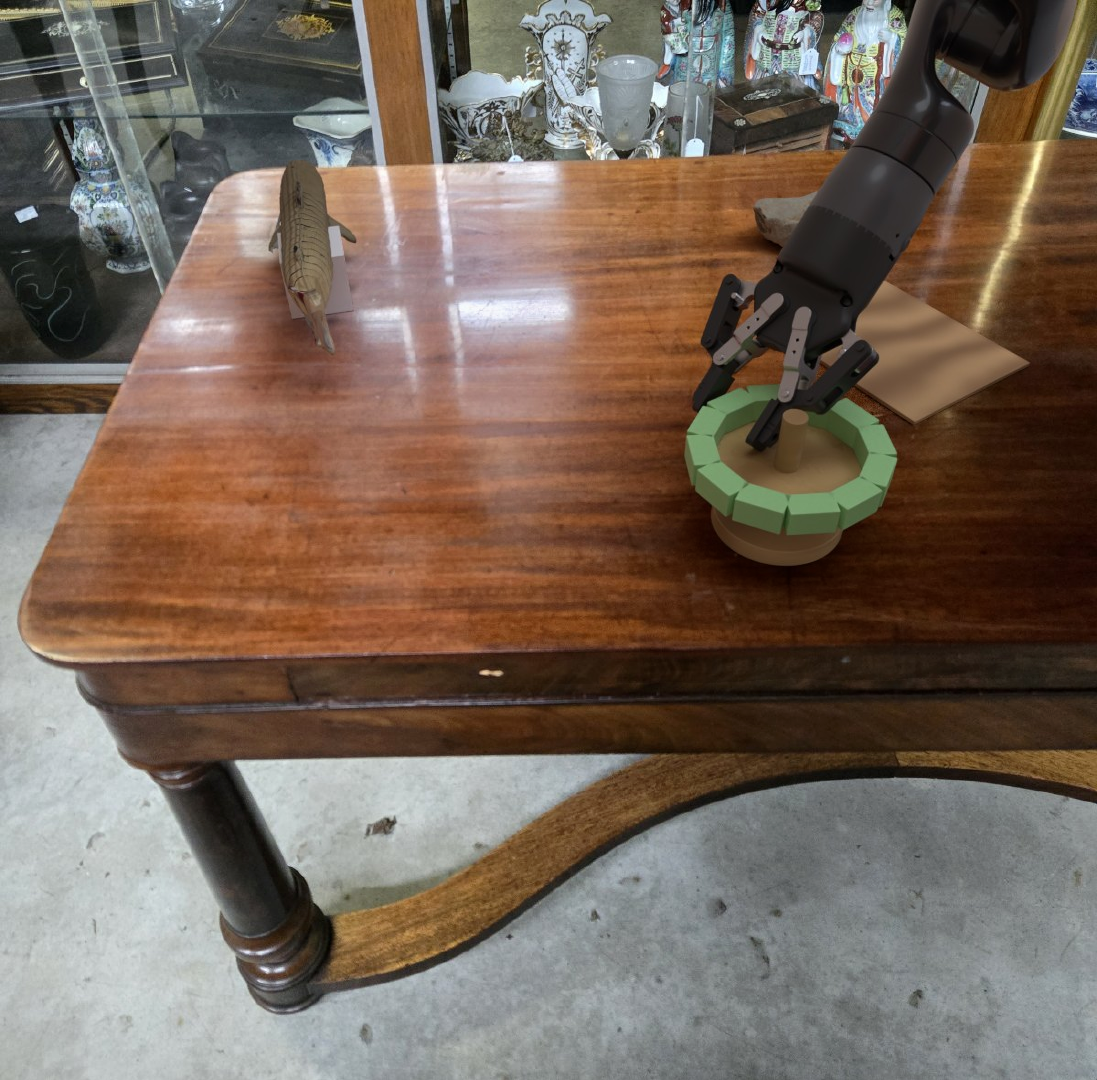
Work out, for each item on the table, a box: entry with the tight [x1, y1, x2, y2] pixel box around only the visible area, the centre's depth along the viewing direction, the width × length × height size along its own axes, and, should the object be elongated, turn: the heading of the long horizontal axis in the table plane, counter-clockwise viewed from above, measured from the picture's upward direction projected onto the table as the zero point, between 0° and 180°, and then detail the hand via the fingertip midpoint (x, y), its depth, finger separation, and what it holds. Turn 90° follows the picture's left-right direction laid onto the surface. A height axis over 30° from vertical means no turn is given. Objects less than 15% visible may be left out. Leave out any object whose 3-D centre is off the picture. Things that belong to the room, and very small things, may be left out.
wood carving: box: [268, 159, 357, 356], centre depth 98 cm, size 9×35×11 cm, turn 13°
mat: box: [819, 279, 1031, 426], centre depth 97 cm, size 20×15×1 cm
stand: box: [710, 409, 862, 567], centre depth 76 cm, size 12×12×10 cm
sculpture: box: [752, 190, 819, 248], centre depth 110 cm, size 7×5×15 cm
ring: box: [683, 383, 898, 535], centre depth 75 cm, size 15×15×2 cm
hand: (726, 429), depth 78 cm, fingers open, 4 cm apart
